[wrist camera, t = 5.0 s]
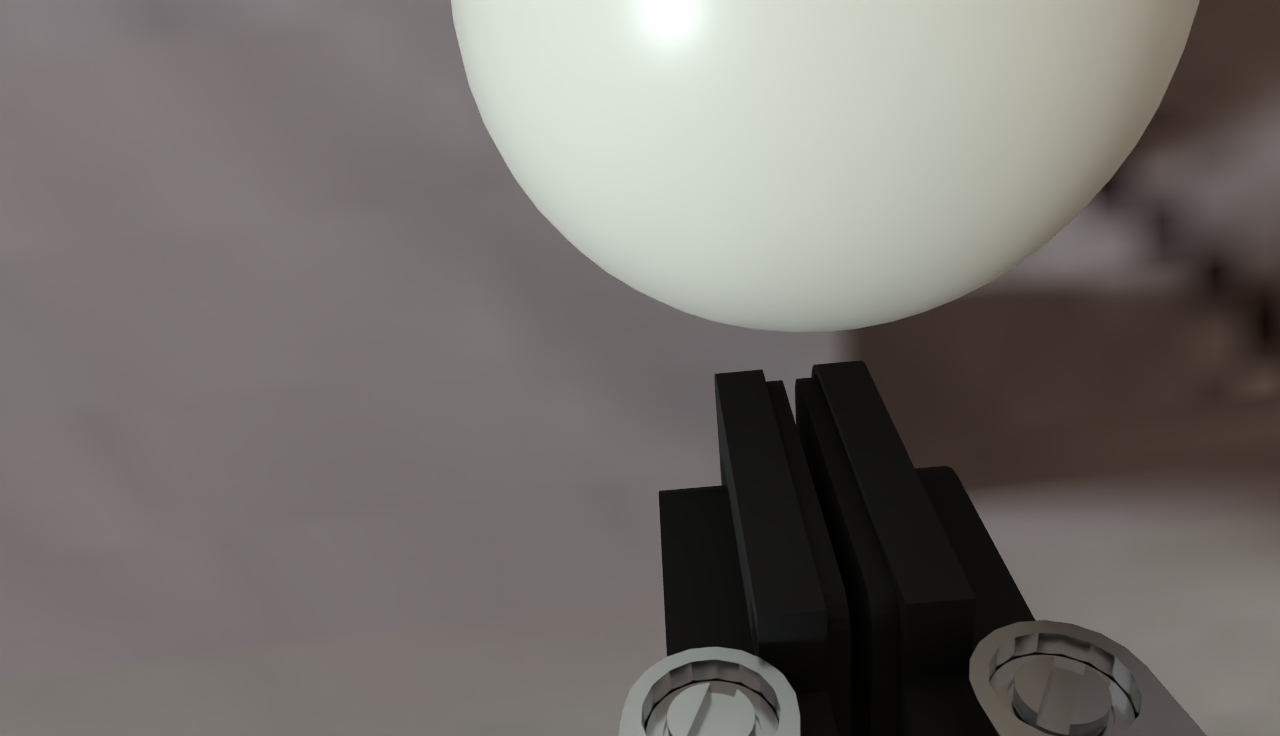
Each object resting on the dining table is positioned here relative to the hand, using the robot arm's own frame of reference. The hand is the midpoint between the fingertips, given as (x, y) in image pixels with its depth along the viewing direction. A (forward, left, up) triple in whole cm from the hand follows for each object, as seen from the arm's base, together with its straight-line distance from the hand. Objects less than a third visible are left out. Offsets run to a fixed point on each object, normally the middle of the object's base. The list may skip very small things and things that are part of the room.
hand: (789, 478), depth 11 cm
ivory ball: (+5, +2, +1) cm, 6 cm away
